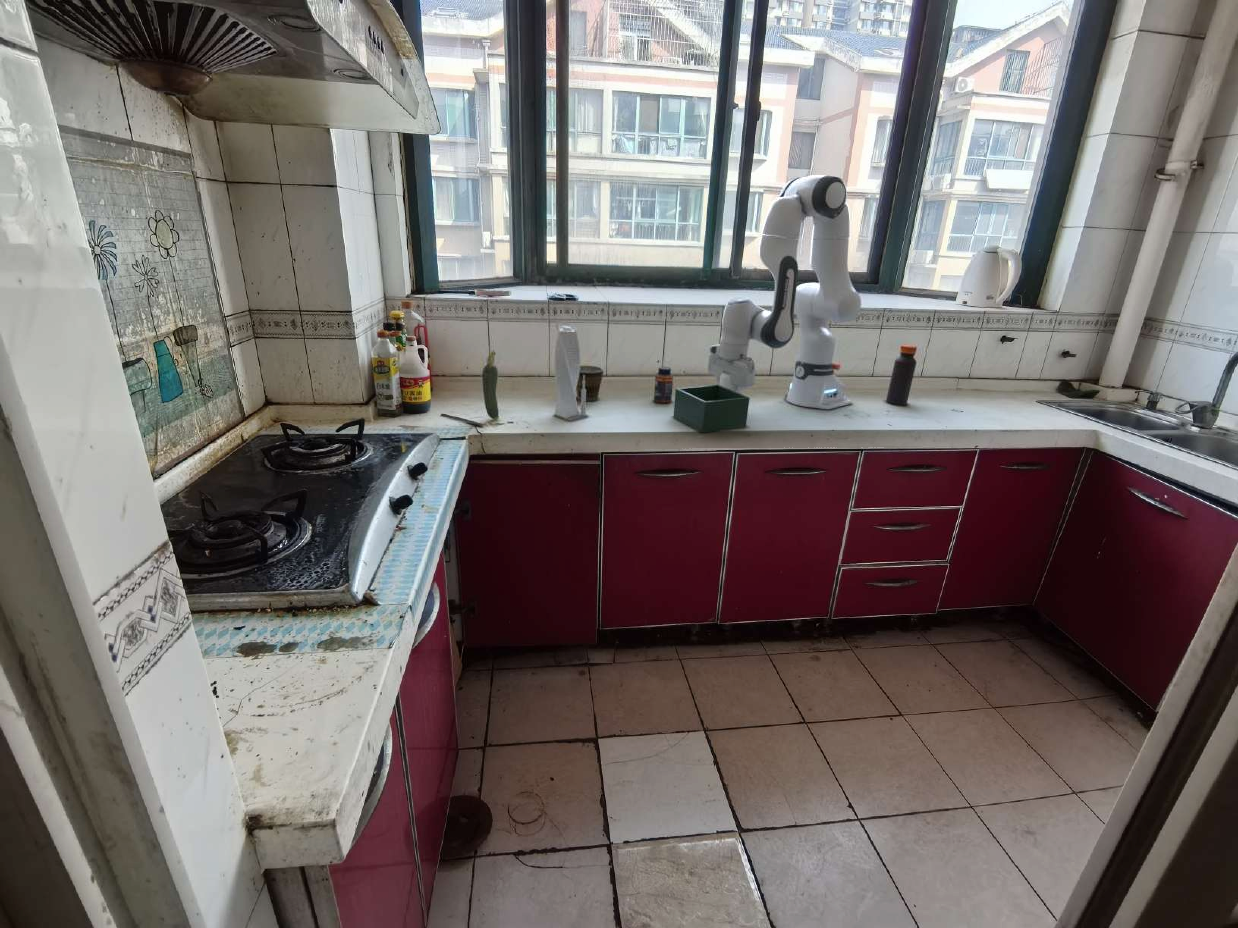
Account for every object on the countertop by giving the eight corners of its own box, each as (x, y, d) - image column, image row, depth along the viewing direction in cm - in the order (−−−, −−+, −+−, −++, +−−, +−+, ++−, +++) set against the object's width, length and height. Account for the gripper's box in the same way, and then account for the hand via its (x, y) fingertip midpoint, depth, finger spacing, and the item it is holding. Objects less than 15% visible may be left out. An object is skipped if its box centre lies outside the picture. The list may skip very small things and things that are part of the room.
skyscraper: (566, 422, 172) (567, 324, 161) (548, 415, 177) (548, 320, 166) (587, 416, 178) (589, 322, 167) (568, 410, 183) (570, 318, 172)
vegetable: (486, 422, 168) (483, 352, 161) (482, 418, 172) (479, 349, 164) (501, 421, 170) (499, 351, 163) (497, 416, 174) (494, 348, 166)
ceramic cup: (585, 392, 202) (585, 364, 198) (608, 398, 197) (609, 369, 193) (560, 400, 192) (560, 370, 189) (583, 406, 187) (584, 375, 183)
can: (736, 412, 189) (741, 375, 184) (716, 410, 190) (720, 373, 185) (737, 406, 195) (741, 370, 190) (717, 404, 196) (721, 369, 191)
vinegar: (910, 404, 207) (924, 347, 200) (899, 406, 204) (912, 348, 196) (893, 399, 212) (905, 343, 205) (881, 401, 209) (894, 345, 201)
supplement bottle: (674, 401, 198) (677, 367, 193) (666, 404, 193) (668, 370, 189) (659, 397, 201) (661, 364, 196) (650, 401, 196) (652, 367, 192)
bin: (715, 412, 188) (718, 384, 184) (745, 427, 175) (749, 397, 172) (673, 417, 181) (675, 388, 178) (702, 432, 168) (705, 402, 165)
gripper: (762, 358, 178) (756, 402, 183) (722, 345, 195) (717, 386, 200) (745, 359, 175) (740, 404, 181) (706, 346, 192) (702, 387, 197)
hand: (728, 394), depth 190 cm, fingers closed on can, 6 cm apart
